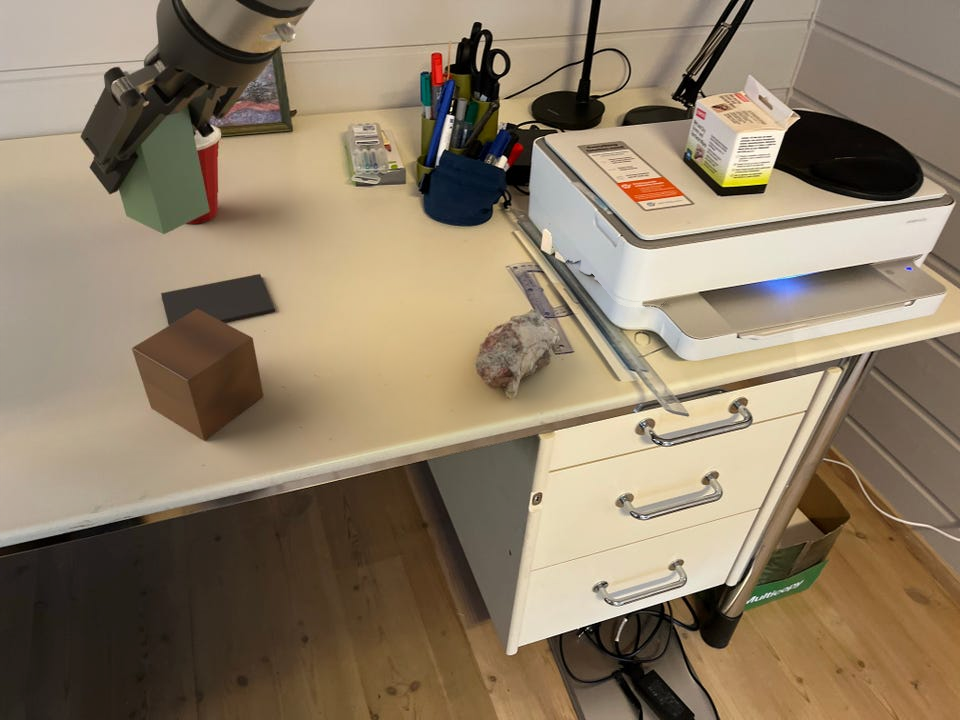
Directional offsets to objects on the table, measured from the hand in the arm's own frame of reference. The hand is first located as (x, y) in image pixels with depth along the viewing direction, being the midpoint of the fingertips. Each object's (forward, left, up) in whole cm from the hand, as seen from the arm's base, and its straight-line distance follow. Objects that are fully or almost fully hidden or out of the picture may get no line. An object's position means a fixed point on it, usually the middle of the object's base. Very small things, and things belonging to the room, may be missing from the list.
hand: (132, 167), depth 66 cm
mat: (+5, +11, -24) cm, 27 cm away
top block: (+2, -3, -3) cm, 5 cm away
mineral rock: (+34, -12, -24) cm, 44 cm away
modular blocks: (+54, +1, -24) cm, 59 cm away
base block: (+1, -6, -24) cm, 25 cm away
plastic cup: (+6, +34, -24) cm, 43 cm away
